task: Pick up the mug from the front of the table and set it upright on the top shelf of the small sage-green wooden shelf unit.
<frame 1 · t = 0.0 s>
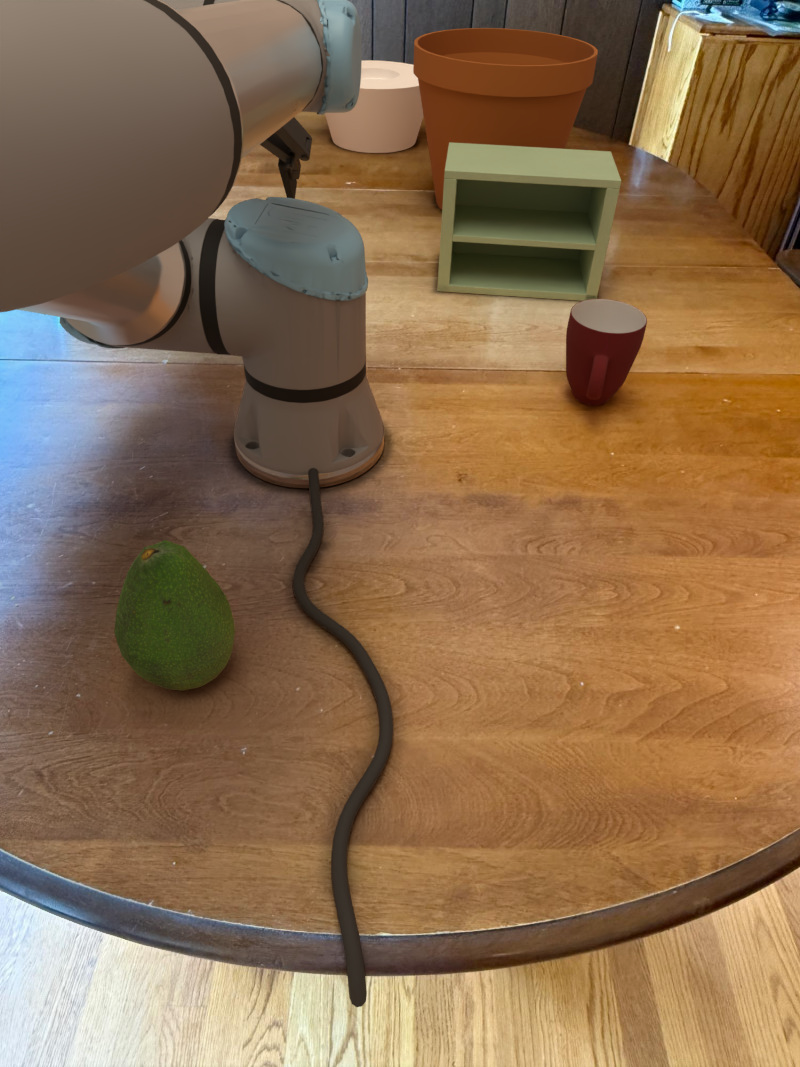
hand: (236, 189, 92), 15 cm above the table, tool tilted 35°, fingers open, 13 cm apart
mug: (590, 403, 88), on the table
flowerpot: (489, 204, 134), on the table
shelf unit: (515, 278, 112), on the table
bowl: (374, 141, 160), on the table
fruit: (187, 672, 58), on the table
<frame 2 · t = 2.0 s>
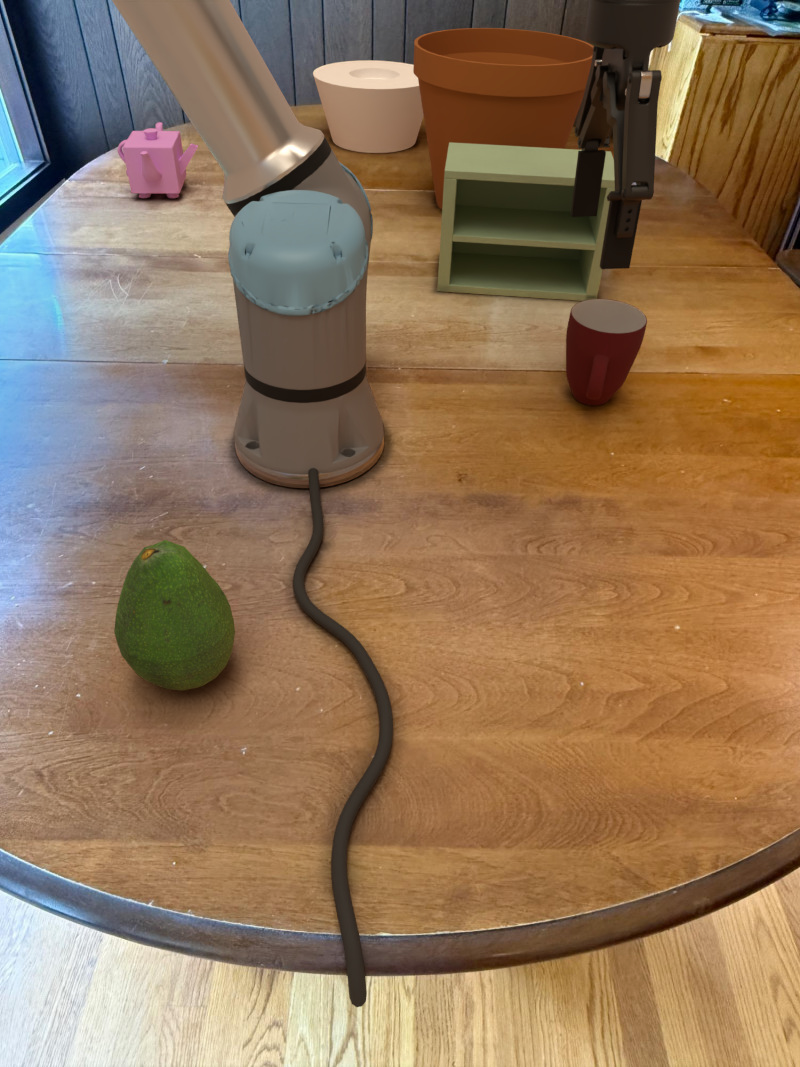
hand: (597, 240, 79), 17 cm above the table, tool pointing down, fingers open, 13 cm apart
nothing on the table moved.
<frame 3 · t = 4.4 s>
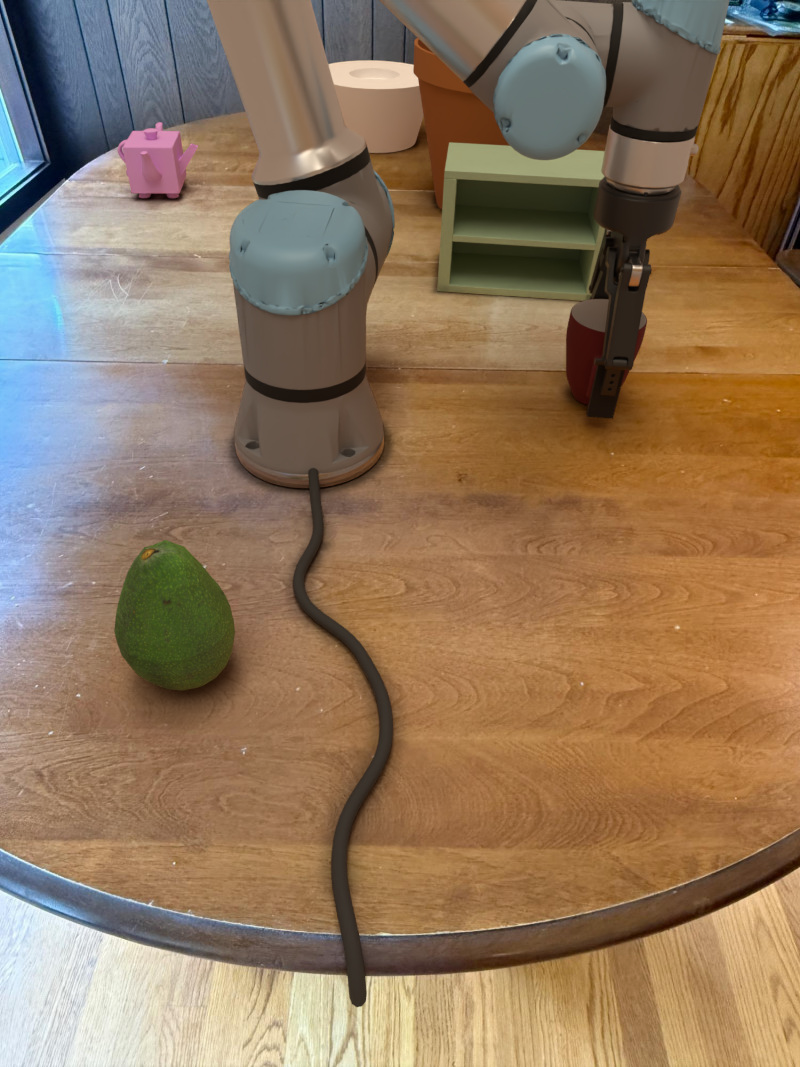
hand: (594, 388, 86), 2 cm above the table, tool pointing down, fingers closed on mug, 10 cm apart
mug: (590, 404, 88), on the table, touching gripper
everything else where it was.
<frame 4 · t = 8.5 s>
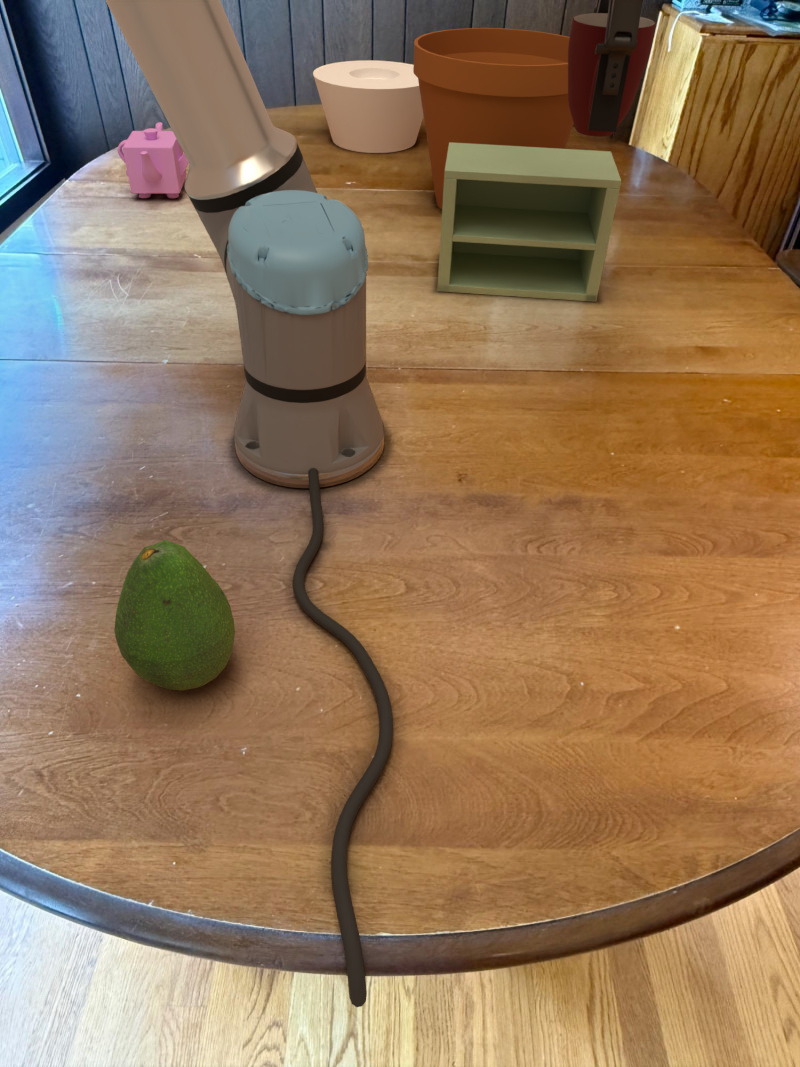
hand: (598, 114, 80), 26 cm above the table, tool pointing down, fingers closed on mug, 10 cm apart
mug: (594, 137, 82), point 24 cm above the table, touching gripper
everything else where it was.
when the fingers open (18 cm above the table, at t = 12.8 s): mug stays where it is, resting on shelf unit.
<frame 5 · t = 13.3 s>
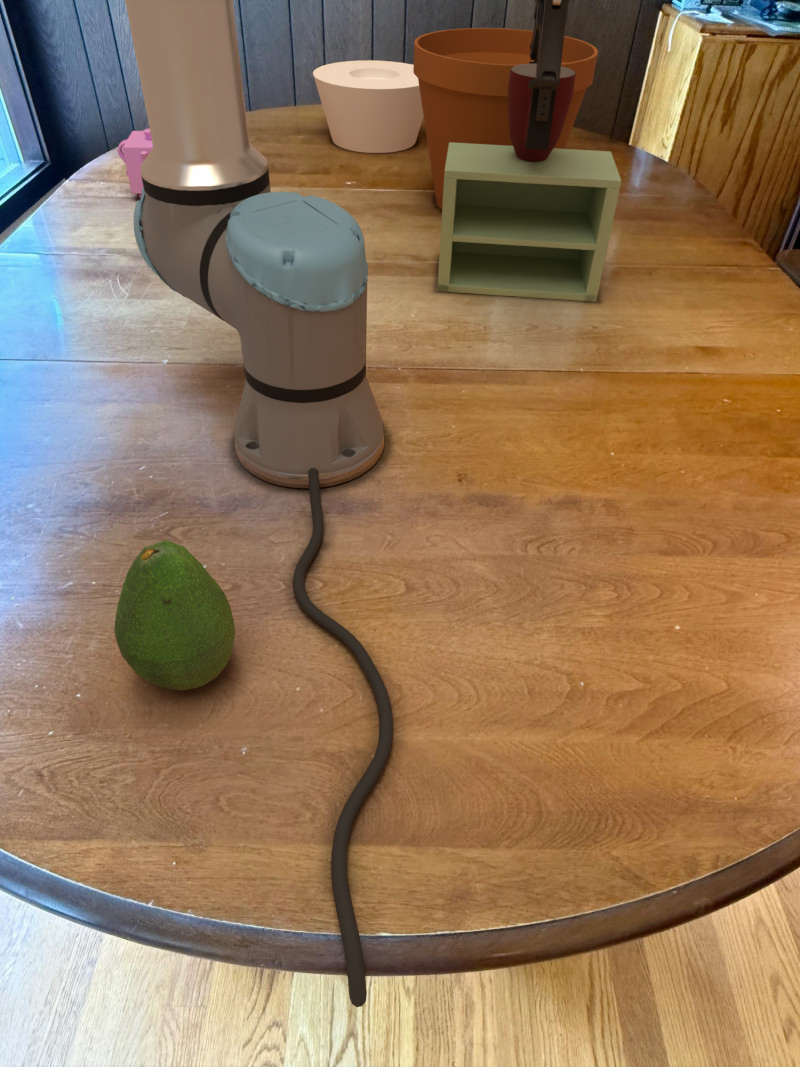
hand: (534, 133, 99), 19 cm above the table, tool pointing down, fingers open, 13 cm apart
mug: (531, 161, 101), point 16 cm above the table, touching shelf unit
everything else where it was.
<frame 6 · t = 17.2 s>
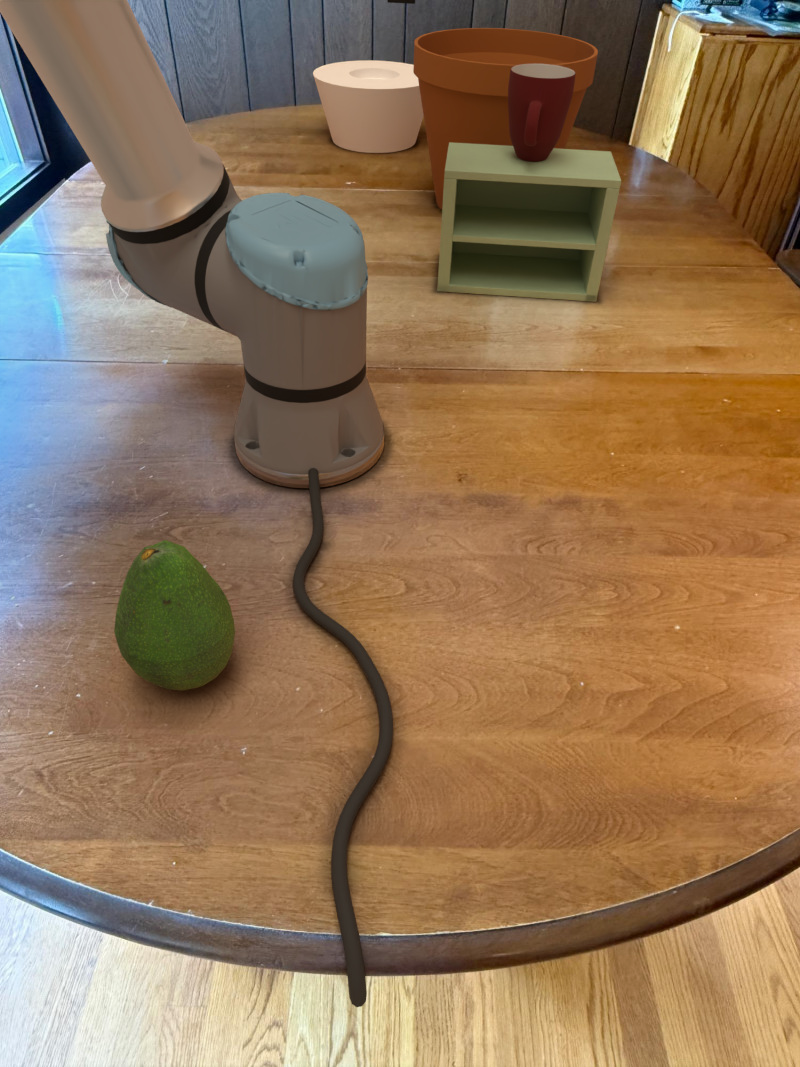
nothing on the table moved.
at the end: mug inside the target area on the shelf unit (0.1 cm from its centre), point 15.8 cm above the shelf unit's base; mug tilted 0°; the gripper is holding nothing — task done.
